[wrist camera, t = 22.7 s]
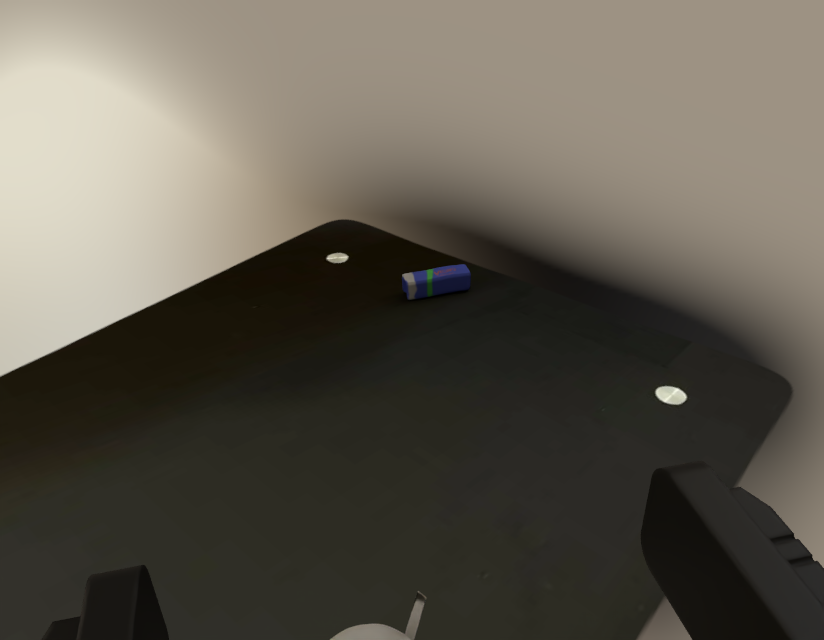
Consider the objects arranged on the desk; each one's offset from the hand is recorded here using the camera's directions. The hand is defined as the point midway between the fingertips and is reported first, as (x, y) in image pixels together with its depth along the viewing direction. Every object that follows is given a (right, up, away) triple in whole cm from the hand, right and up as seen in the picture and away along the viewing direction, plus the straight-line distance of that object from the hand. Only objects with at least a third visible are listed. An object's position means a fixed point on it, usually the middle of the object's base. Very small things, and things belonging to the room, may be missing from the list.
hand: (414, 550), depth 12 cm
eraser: (+2, +6, +57) cm, 57 cm away
